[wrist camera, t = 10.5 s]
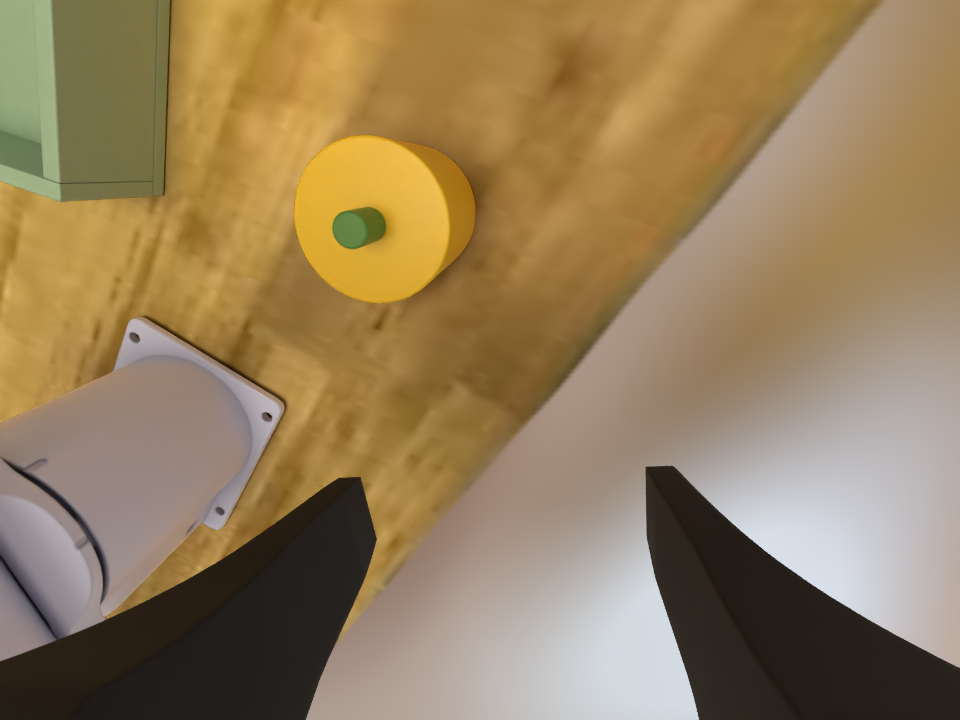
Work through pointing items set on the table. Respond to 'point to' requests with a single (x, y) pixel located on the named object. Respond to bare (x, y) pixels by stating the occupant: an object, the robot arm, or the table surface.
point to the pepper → (382, 216)
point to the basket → (84, 97)
